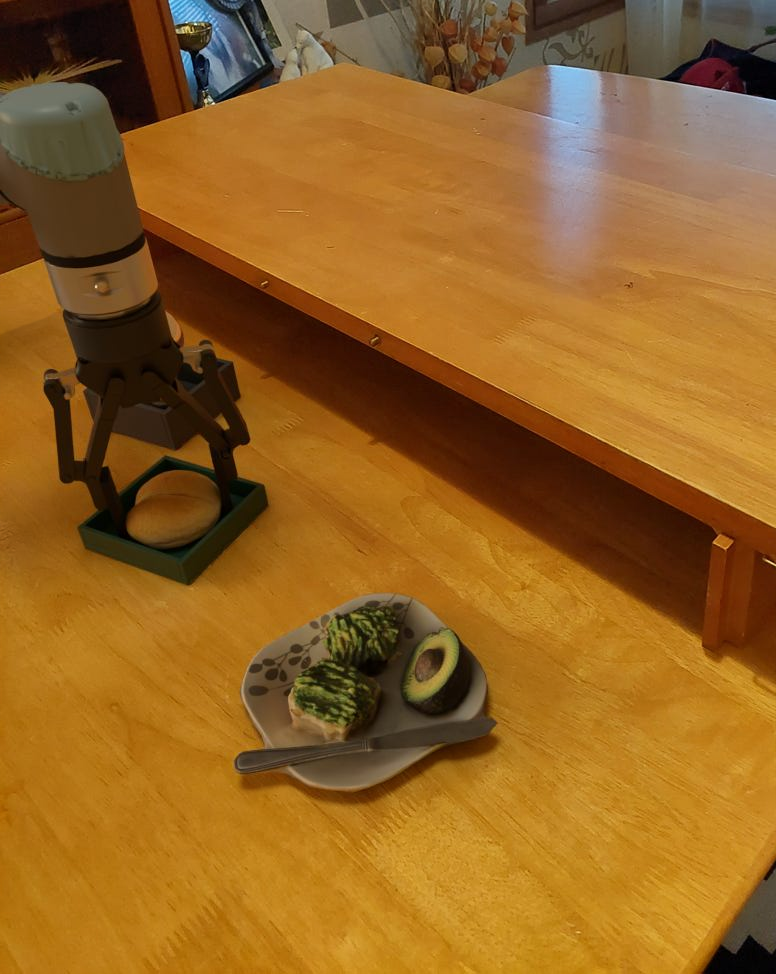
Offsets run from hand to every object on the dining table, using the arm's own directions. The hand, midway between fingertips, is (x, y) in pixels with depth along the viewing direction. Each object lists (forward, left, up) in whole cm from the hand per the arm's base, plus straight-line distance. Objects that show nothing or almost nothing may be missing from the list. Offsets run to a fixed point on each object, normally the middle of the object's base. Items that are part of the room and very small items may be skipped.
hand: (176, 518), depth 86 cm
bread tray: (0, 0, -1) cm, 1 cm away
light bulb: (-14, +15, -1) cm, 21 cm away
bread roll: (0, 0, 0) cm, 0 cm away
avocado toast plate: (+27, -10, -1) cm, 29 cm away
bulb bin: (-14, +15, -1) cm, 21 cm away
